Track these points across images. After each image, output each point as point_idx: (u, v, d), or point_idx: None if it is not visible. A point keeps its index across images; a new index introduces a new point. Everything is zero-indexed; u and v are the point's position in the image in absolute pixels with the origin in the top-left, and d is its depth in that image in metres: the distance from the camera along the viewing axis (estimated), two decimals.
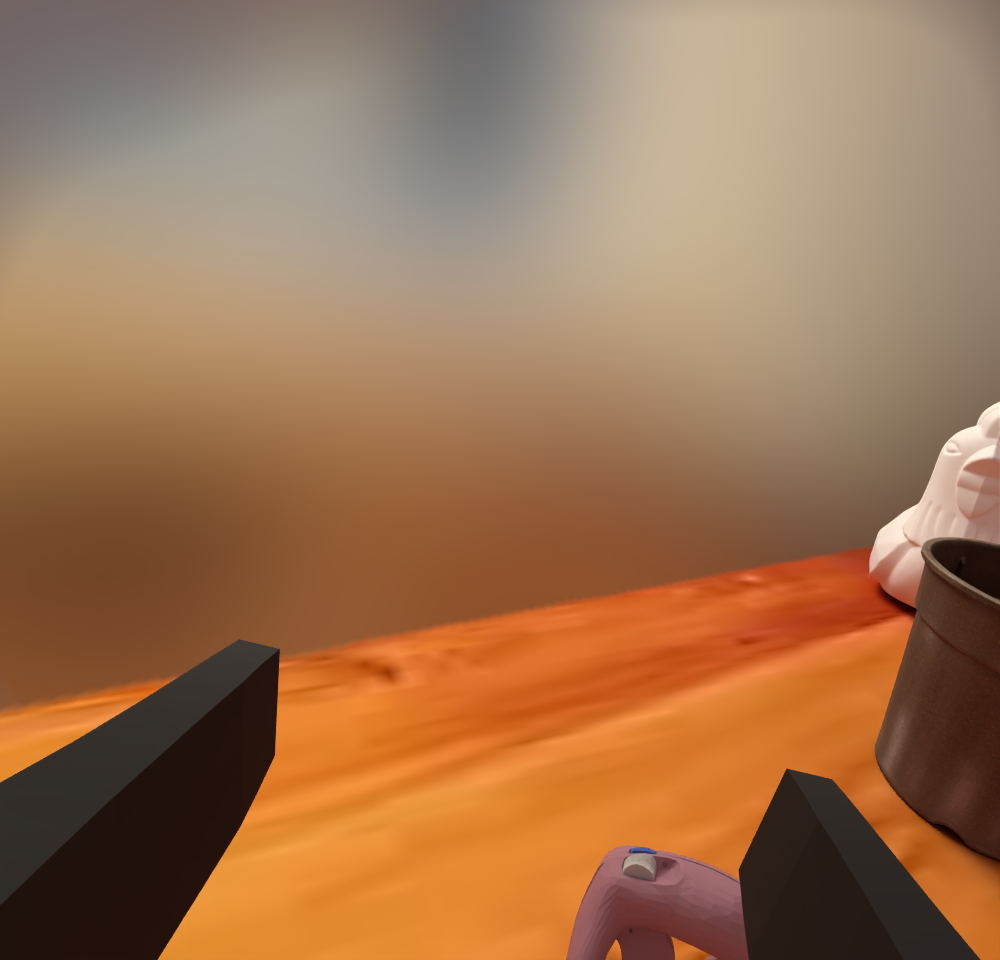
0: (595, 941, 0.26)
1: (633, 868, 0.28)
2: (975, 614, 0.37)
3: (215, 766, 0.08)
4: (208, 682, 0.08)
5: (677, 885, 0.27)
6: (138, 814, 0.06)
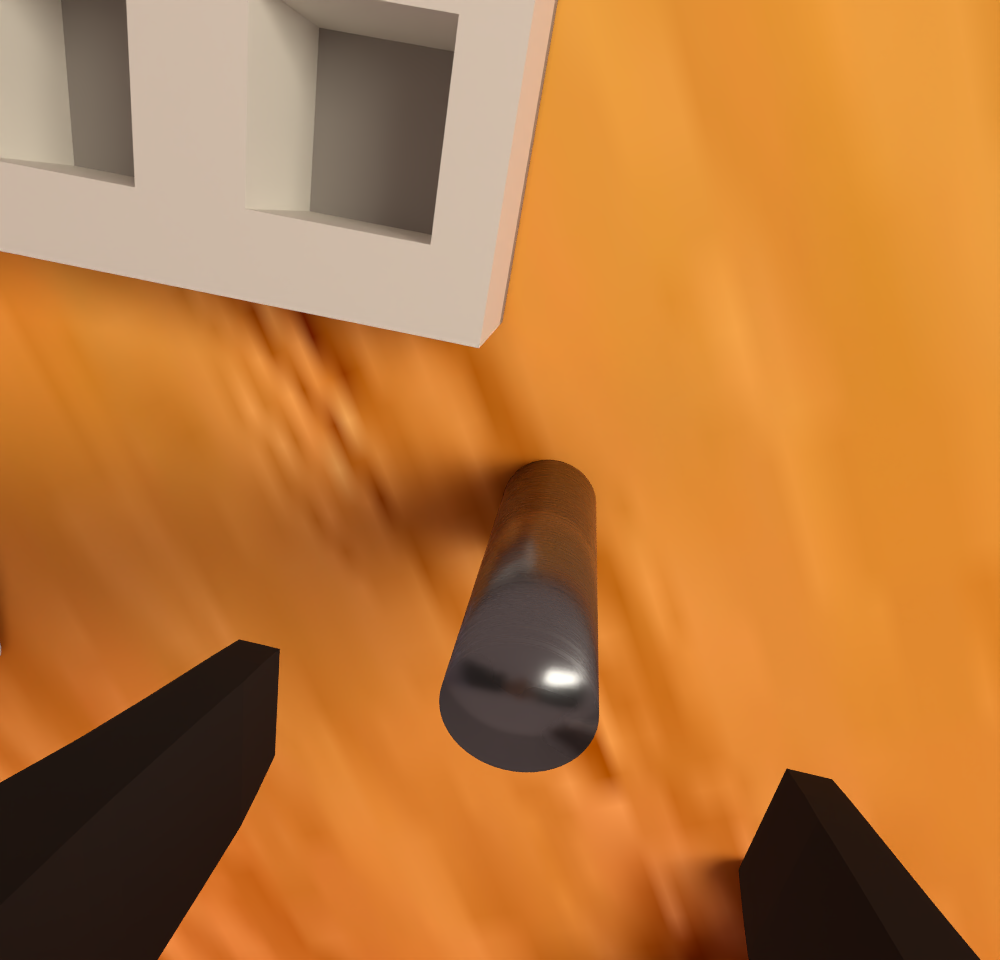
0: None
1: None
2: None
3: (215, 766, 0.08)
4: (208, 682, 0.08)
5: None
6: (138, 814, 0.06)
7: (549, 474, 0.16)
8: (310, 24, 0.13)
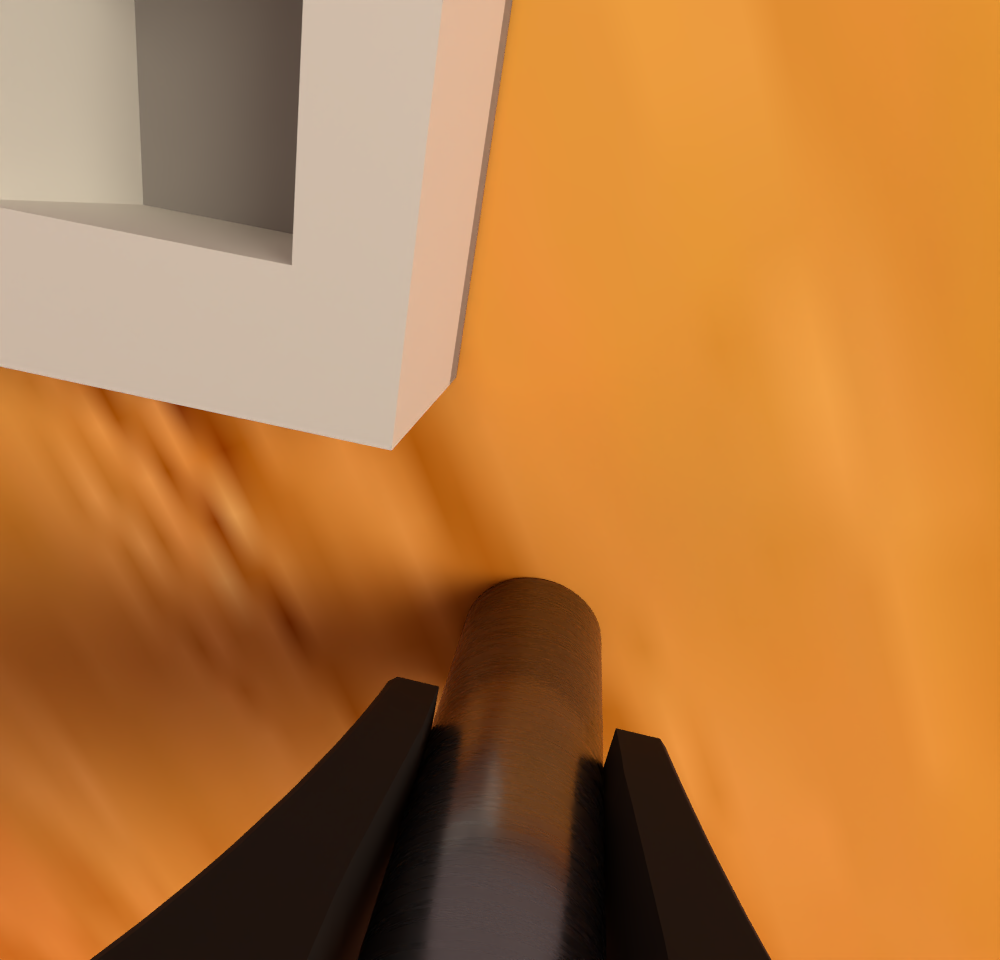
0: None
1: None
2: None
3: (398, 812, 0.08)
4: (391, 726, 0.08)
5: None
6: (359, 871, 0.06)
7: (530, 611, 0.10)
8: None
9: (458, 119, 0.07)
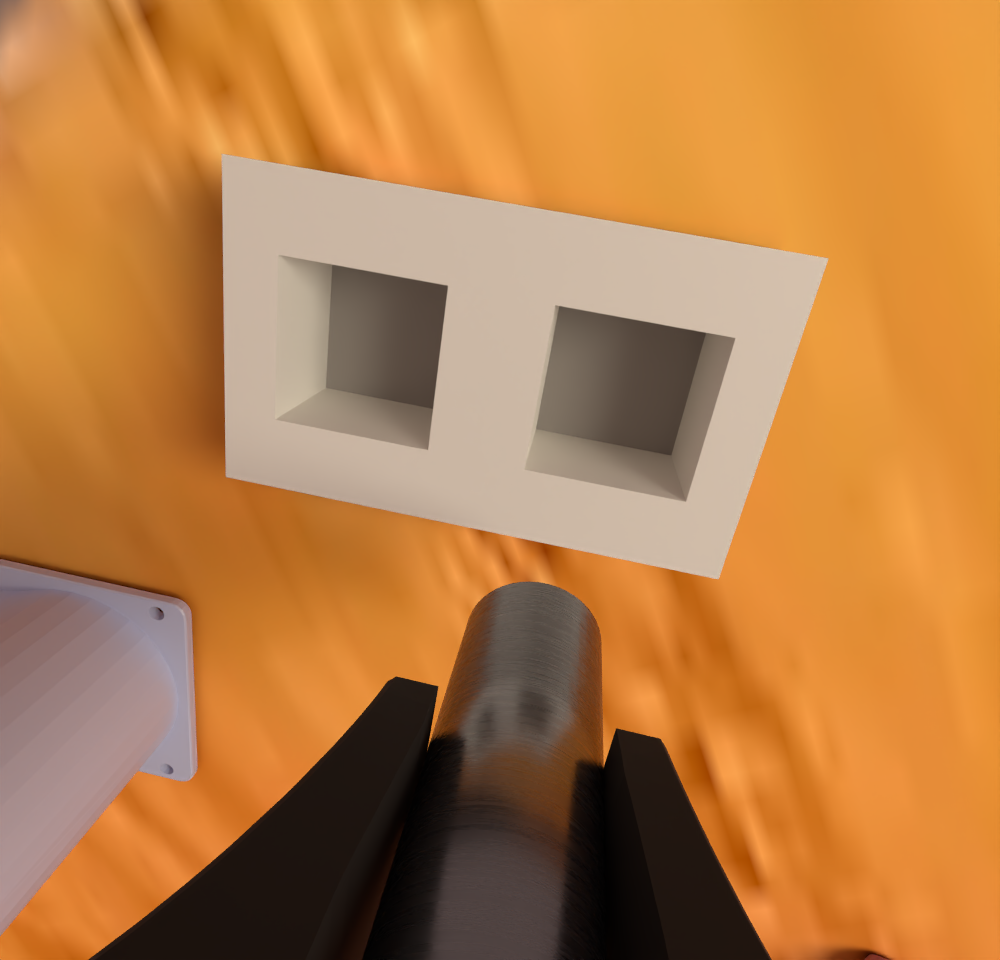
0: None
1: None
2: None
3: (398, 812, 0.08)
4: (390, 726, 0.08)
5: None
6: (358, 871, 0.06)
7: (523, 614, 0.10)
8: None
9: None
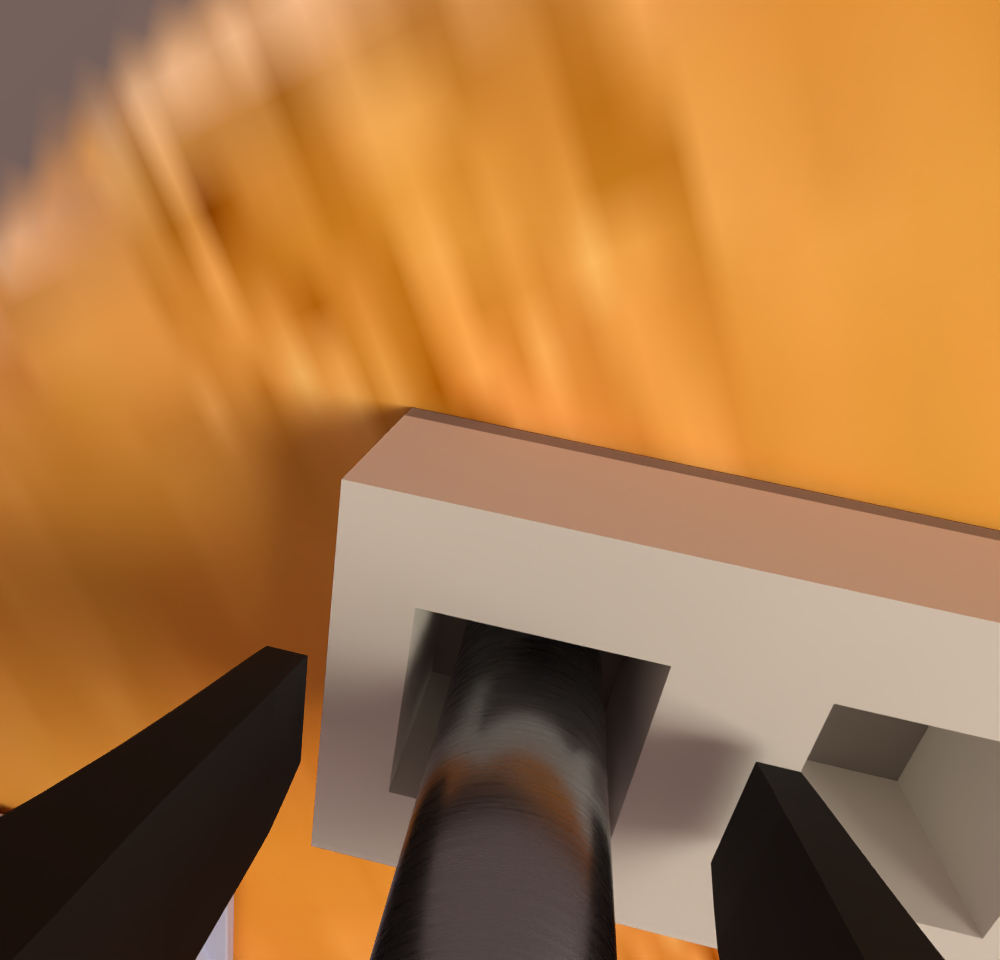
0: None
1: None
2: None
3: (247, 774, 0.08)
4: (240, 690, 0.08)
5: None
6: (177, 824, 0.06)
7: None
8: None
9: None
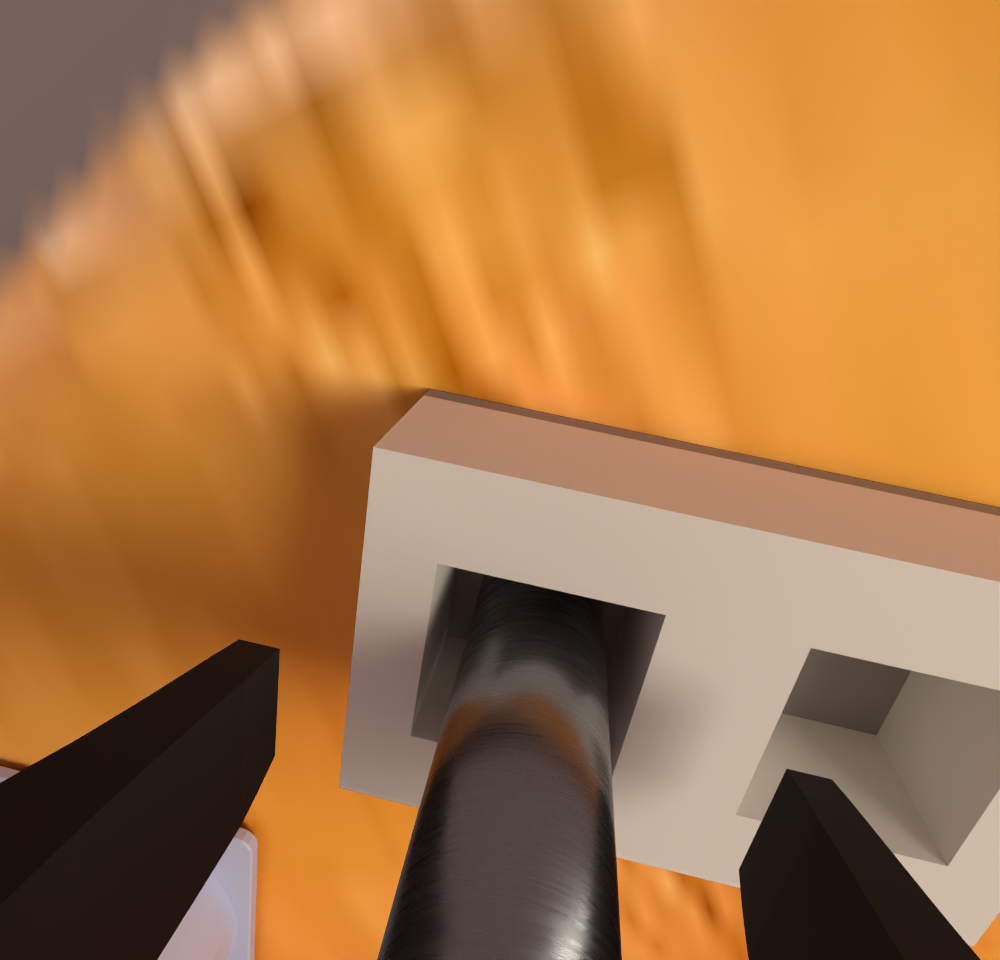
0: None
1: None
2: None
3: (215, 766, 0.08)
4: (208, 682, 0.08)
5: None
6: (138, 814, 0.06)
7: None
8: None
9: None
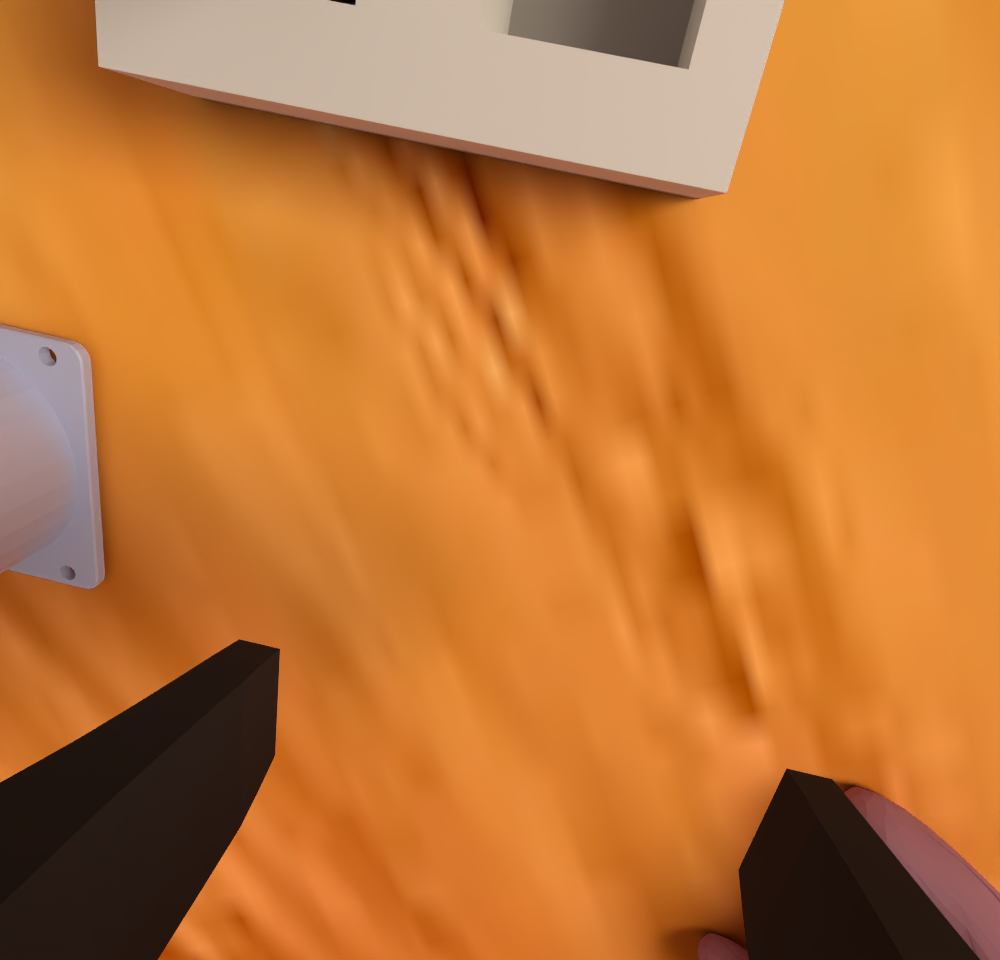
0: None
1: None
2: None
3: (215, 766, 0.08)
4: (208, 682, 0.08)
5: None
6: (138, 814, 0.06)
7: None
8: None
9: None
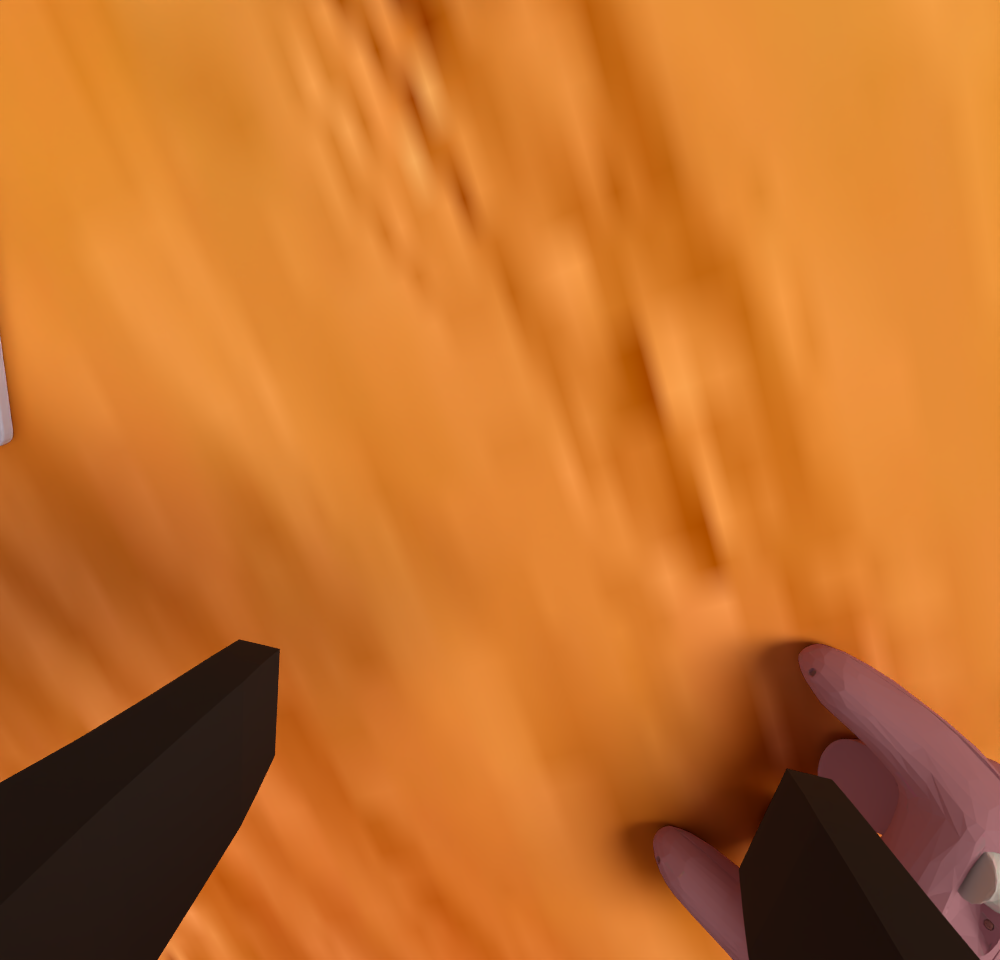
0: (880, 744, 0.16)
1: (988, 878, 0.14)
2: None
3: (215, 766, 0.08)
4: (208, 682, 0.08)
5: None
6: (138, 814, 0.06)
7: None
8: None
9: None
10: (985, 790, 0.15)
